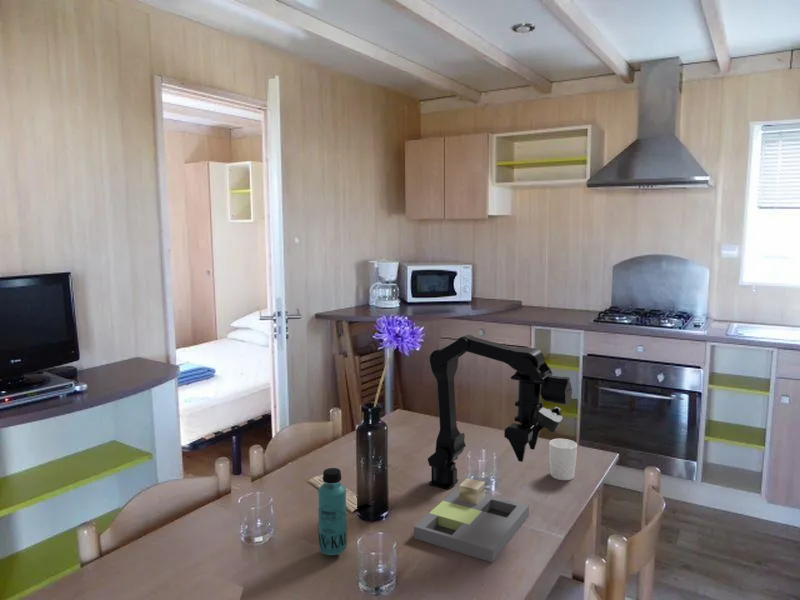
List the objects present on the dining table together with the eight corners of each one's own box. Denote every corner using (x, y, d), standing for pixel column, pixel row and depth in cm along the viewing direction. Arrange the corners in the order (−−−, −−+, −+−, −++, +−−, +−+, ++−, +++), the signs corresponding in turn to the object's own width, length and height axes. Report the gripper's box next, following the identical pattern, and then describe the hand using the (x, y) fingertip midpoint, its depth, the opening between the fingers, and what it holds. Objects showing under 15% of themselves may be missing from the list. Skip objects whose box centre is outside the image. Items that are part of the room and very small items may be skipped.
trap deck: (414, 538, 140) (413, 526, 140) (457, 497, 161) (457, 487, 160) (492, 562, 130) (492, 550, 130) (528, 516, 150) (529, 504, 150)
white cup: (577, 482, 169) (578, 449, 168) (549, 480, 171) (549, 447, 169) (574, 471, 177) (575, 439, 175) (547, 469, 178) (548, 437, 177)
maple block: (459, 499, 153) (459, 485, 152) (467, 492, 157) (467, 478, 157) (477, 504, 150) (477, 489, 150) (484, 496, 154) (484, 482, 154)
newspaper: (308, 484, 171) (308, 478, 171) (330, 477, 176) (329, 471, 175) (352, 515, 153) (352, 509, 152) (375, 507, 157) (374, 501, 157)
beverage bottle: (319, 546, 137) (317, 464, 134) (348, 545, 137) (346, 463, 135) (318, 562, 130) (315, 477, 128) (348, 561, 131) (346, 475, 128)
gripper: (548, 413, 140) (545, 475, 142) (570, 393, 156) (567, 449, 158) (504, 405, 146) (502, 465, 148) (529, 386, 162) (527, 441, 164)
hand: (526, 455), depth 154 cm, fingers open, 9 cm apart
